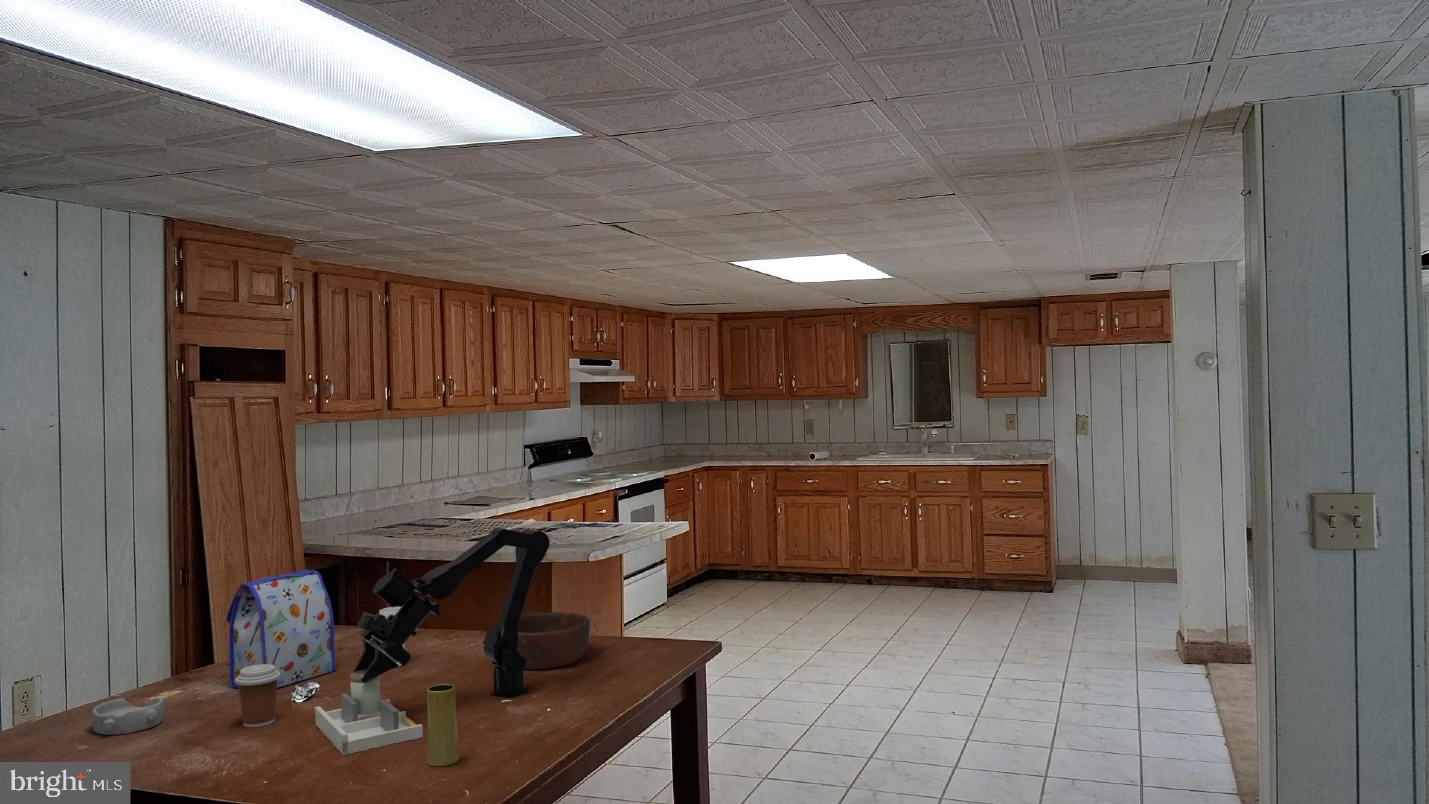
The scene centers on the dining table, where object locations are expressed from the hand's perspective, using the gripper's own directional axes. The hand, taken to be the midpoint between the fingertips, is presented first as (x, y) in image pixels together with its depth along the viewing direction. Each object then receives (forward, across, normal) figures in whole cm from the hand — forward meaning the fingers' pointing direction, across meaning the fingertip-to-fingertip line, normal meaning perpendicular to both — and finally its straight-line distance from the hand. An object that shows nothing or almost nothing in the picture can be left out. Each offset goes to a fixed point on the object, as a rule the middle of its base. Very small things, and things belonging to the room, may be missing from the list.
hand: (358, 678), depth 211 cm
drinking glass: (-7, -44, +22) cm, 49 cm away
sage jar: (+4, 0, +6) cm, 7 cm away
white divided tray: (+7, +6, +7) cm, 11 cm away
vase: (+2, +33, +12) cm, 35 cm away
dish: (+36, -33, -22) cm, 54 cm away
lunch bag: (+11, -50, +3) cm, 51 cm away
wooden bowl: (-30, -22, +46) cm, 59 cm away
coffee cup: (+19, -17, -5) cm, 26 cm away
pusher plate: (+8, 0, +5) cm, 10 cm away
